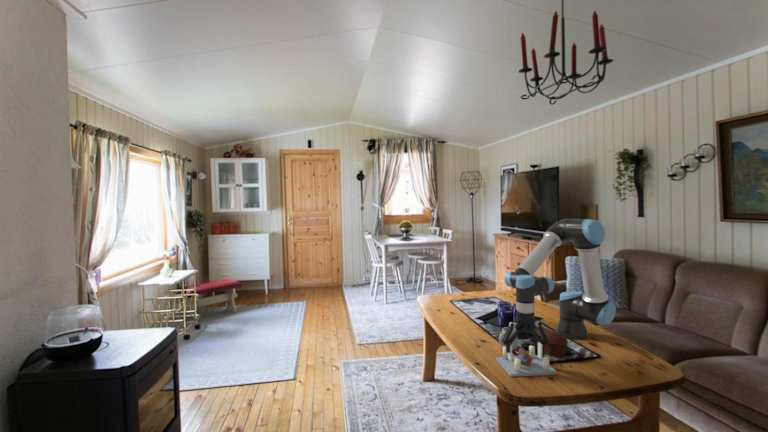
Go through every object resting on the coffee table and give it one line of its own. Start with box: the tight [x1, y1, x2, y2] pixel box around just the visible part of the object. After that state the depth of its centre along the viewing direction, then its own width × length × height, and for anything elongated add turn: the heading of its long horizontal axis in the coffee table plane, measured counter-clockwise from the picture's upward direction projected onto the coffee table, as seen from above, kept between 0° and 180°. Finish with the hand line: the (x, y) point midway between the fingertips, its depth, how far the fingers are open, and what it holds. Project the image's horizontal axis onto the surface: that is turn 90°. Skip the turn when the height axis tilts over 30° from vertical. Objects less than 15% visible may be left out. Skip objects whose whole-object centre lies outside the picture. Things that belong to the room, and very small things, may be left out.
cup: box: [498, 326, 519, 351], centre depth 179 cm, size 7×10×9 cm
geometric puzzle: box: [515, 347, 534, 366], centre depth 158 cm, size 7×7×8 cm
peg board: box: [495, 345, 558, 378], centre depth 158 cm, size 20×16×6 cm
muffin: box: [540, 330, 569, 358], centre depth 172 cm, size 12×11×10 cm
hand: (525, 359), depth 158 cm, fingers open, 13 cm apart
